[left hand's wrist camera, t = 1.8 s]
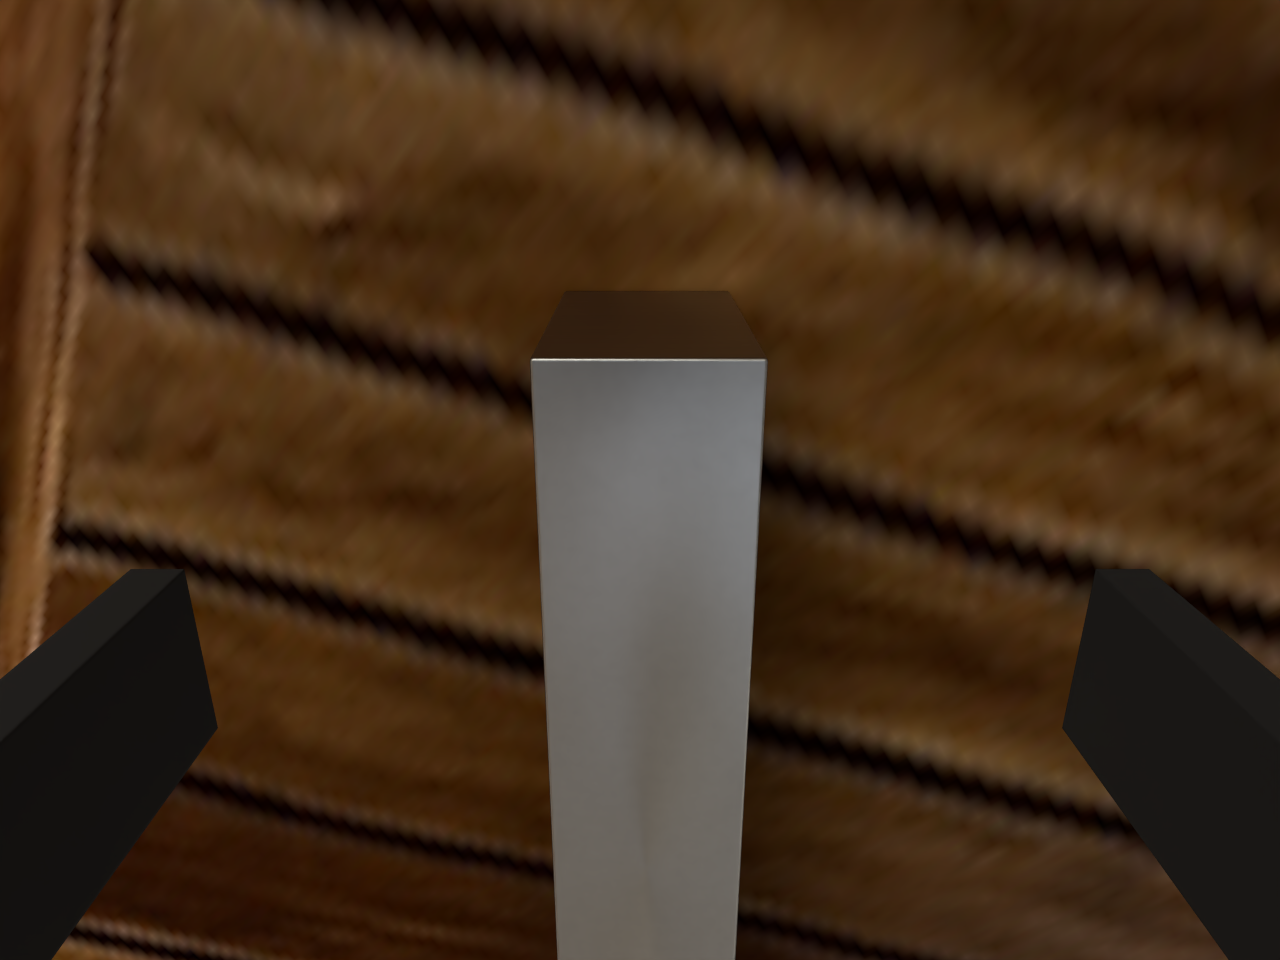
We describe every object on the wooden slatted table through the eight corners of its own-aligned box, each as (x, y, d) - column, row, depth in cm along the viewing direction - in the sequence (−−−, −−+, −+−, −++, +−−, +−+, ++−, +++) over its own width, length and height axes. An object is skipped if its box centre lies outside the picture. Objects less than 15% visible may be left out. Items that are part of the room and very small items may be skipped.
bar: (564, 291, 24) (529, 358, 17) (729, 290, 24) (768, 358, 17) (584, 959, 33) (568, 1197, 26) (704, 960, 33) (722, 1197, 26)
